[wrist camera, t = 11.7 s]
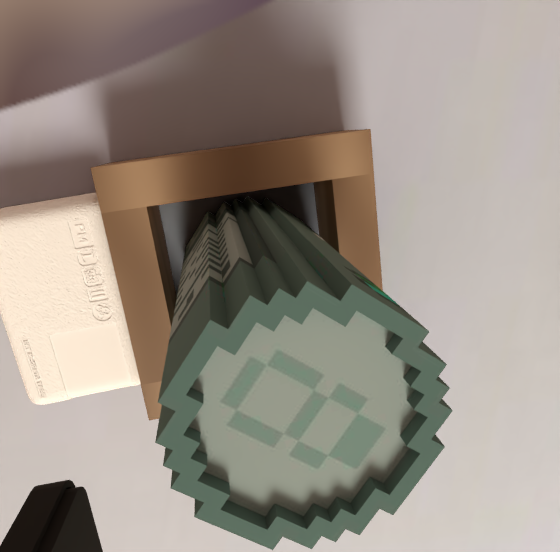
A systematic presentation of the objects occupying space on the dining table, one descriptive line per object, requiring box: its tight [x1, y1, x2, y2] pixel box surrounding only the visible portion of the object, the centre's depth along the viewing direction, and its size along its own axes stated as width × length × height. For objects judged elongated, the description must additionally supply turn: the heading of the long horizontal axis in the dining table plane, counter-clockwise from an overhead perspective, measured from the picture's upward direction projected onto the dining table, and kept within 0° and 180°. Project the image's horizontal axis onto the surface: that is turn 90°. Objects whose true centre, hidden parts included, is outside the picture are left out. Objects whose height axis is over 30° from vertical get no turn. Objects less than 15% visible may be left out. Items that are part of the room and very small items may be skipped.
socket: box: [91, 129, 383, 420], centre depth 23 cm, size 11×11×4 cm
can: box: [155, 196, 452, 550], centre depth 18 cm, size 6×6×15 cm
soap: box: [0, 193, 141, 405], centre depth 23 cm, size 9×6×3 cm, turn 9°
